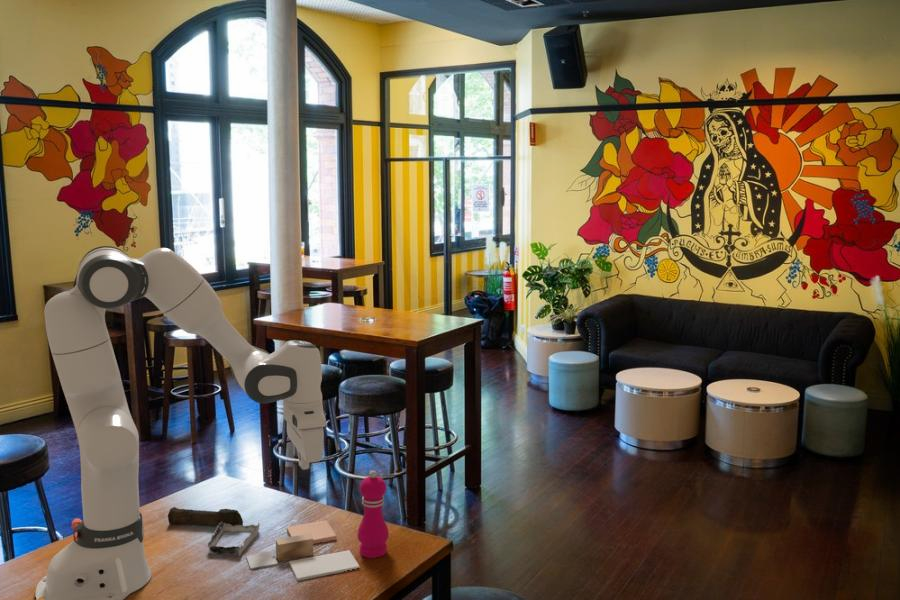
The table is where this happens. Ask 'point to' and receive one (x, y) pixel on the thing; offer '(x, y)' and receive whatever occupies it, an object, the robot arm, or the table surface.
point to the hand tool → (204, 517)
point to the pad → (323, 565)
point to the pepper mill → (373, 518)
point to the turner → (283, 551)
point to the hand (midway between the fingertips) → (304, 467)
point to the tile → (314, 531)
